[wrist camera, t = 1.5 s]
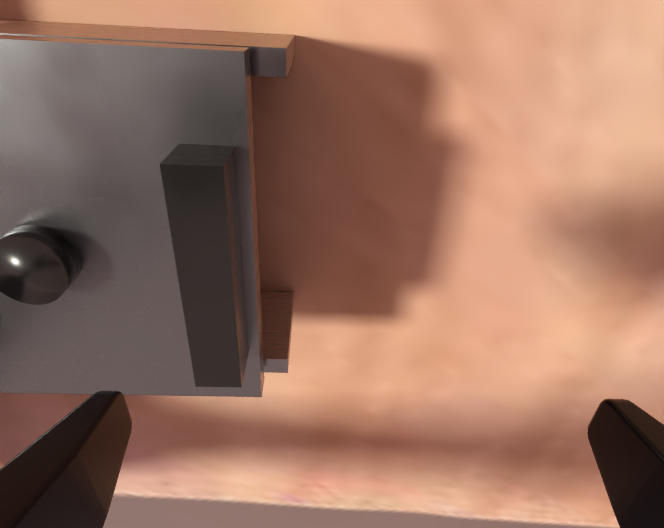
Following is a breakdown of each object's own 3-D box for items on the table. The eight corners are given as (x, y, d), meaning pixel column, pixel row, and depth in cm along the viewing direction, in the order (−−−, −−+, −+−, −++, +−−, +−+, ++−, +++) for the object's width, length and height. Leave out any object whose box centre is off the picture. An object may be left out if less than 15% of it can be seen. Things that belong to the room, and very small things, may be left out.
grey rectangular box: (293, 332, 25) (287, 405, 20) (-111, 322, 24) (-209, 397, 19) (295, -27, 16) (285, -36, 11) (-349, -65, 15) (-633, -92, 10)
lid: (264, 378, 19) (256, 433, 17) (-21, 374, 18) (-72, 430, 16) (249, 47, 12) (232, 59, 10) (-202, 23, 12) (-337, 31, 9)
